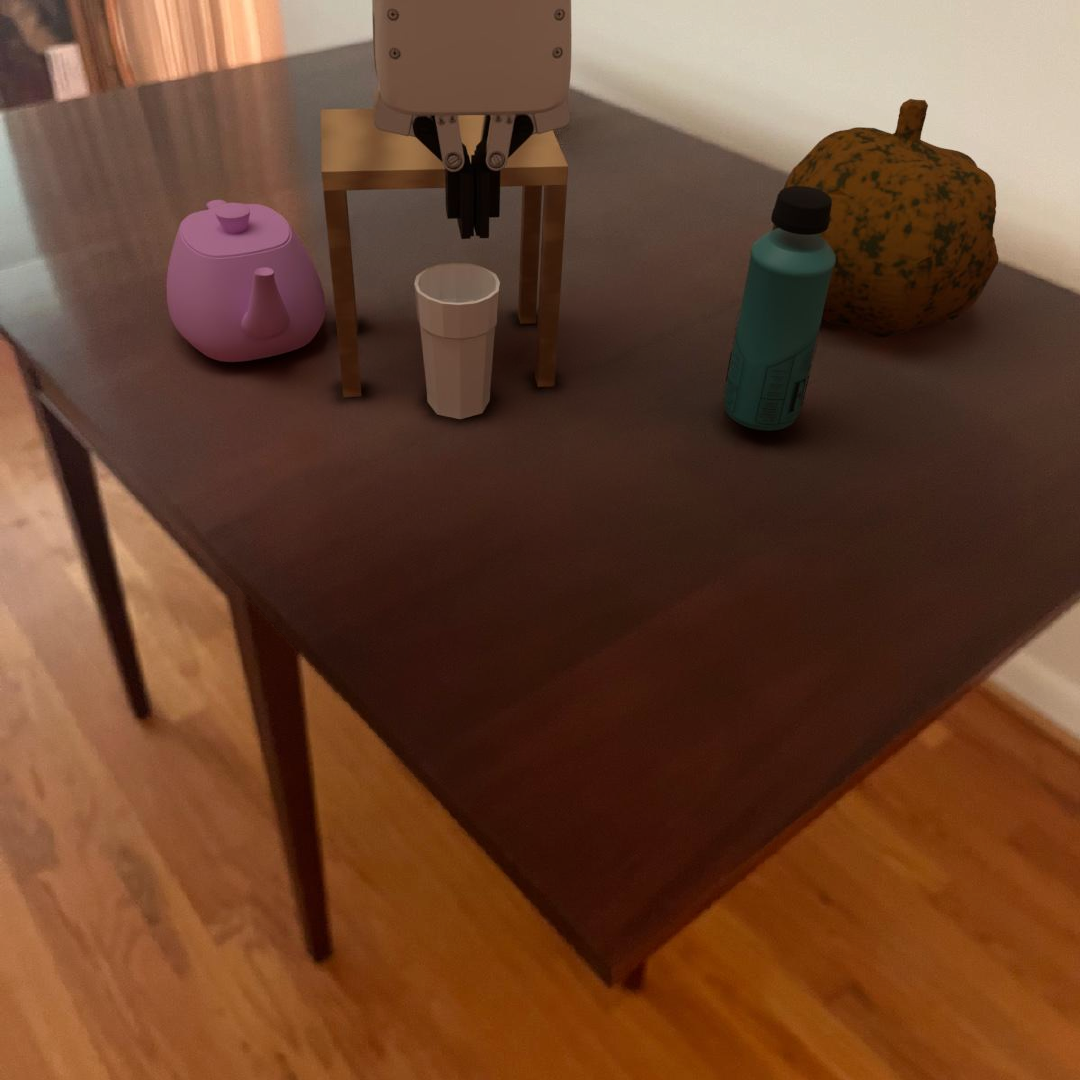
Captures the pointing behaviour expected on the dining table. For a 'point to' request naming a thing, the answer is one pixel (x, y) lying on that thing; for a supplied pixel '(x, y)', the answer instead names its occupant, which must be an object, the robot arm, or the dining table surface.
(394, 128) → the robot arm
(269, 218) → the teapot
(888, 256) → the decorative pumpkin
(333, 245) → the desk
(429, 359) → the cup
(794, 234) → the beverage bottle
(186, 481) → the dining table surface
